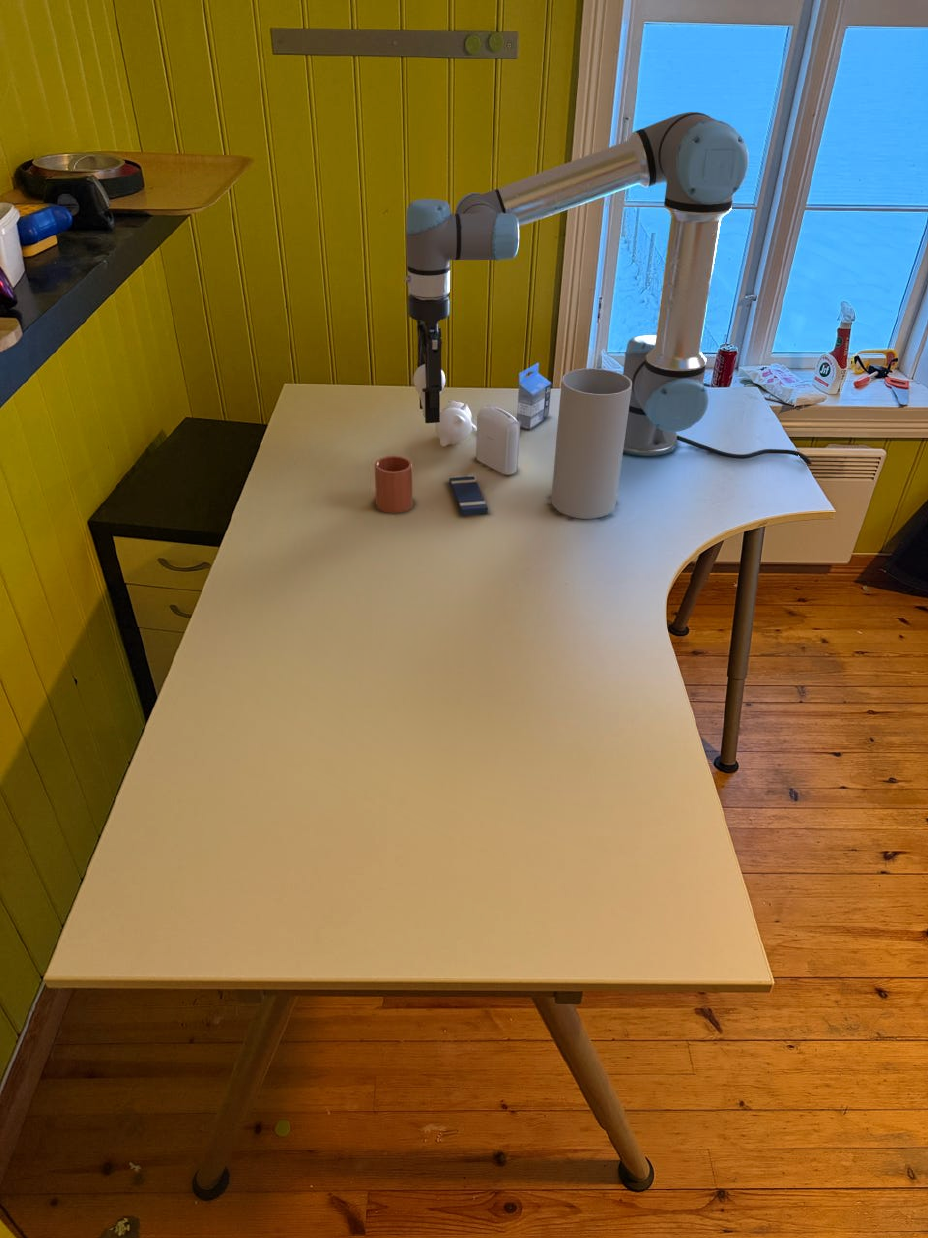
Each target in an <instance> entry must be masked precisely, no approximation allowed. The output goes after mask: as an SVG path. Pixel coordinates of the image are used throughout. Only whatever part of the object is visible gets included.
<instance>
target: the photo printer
mask: <svg viewBox="0 0 928 1238" xmlns="http://www.w3.org/2000/svg"><path fill="white" fill-rule="evenodd" d="M476 427H477V432H476V441H475V447H476V448H475V458H476V460H477V461H478V462H480V463H482V464H483V465H485V466H487V467H489V468H491V469H492V470H494V471H496V472H498V473H500V474H501V475H506V476H509V475H513V474H515V473H516V472H517V470H518V468H519V453H520V437H521V436H520V433H521V427H520V425H519V422H518V421H517V418H515V417H514V416H513V415H512V414H511V413H509V412H508V411H506V410H504V409H503V408H500V407H497V406H492V405H486V406H483V407H481V408H480V409H479V410H478V412H477V416H476Z"/></svg>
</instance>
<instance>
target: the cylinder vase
mask: <svg viewBox="0 0 928 1238" xmlns="http://www.w3.org/2000/svg"><path fill="white" fill-rule="evenodd" d="M631 390H632V381H631V380H630V379H629V378H628V377H627V376H625V375H623V373H622V372H621V373H620V372H617V371H614V370H610V369H604V368H596V367H595V368H593V367H591V368H590V367H587V368H578V369H573V370H570V371H568V372H566V373H564V374H563V375H562V377H561V383H560V396H559V407H558V417H557V428H556V438H555V439H556V440H555V448H554V449H555V450H554V459H553V460H554V463H553V471H552V472H553V475H552V485H551V493H550V501H551V504H552V506H553V508H554V509H556V511H558V512H559V513H561V514H562V515H565V516H568V517H571V518H574V519H579V520H581V519H582V520H593V519H600V518H603V517H605V516H608V515H610V513H612V512H613V511H614V509H615V507H616V504H617V499H618V490H619V484H620V477H621V469H622V468H621V467H622V460H623V454H624V453H623V448H624V440H625V433H626V426H627V419H628V412H629V404H630V397H631Z"/></svg>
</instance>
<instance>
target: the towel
mask: <svg viewBox="0 0 928 1238" xmlns="http://www.w3.org/2000/svg"><path fill="white" fill-rule="evenodd" d="M448 479H449V480H448V481H449V483H448V484H449V487H450V489H451V492H452V494H453V497H454V500H455V502H456V505H457V507H458V510H459V512H460V515H461V517H465V516H466V517H467V516H478V515H488V513H489V507H488V505H487V503H486V501H485V498H484V496H483V494H482V491H481V489H480V487H479V485H478V482H477V480H476V477H475V476H474V475H470V476H455V477H449V478H448Z"/></svg>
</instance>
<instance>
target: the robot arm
mask: <svg viewBox="0 0 928 1238" xmlns="http://www.w3.org/2000/svg"><path fill="white" fill-rule="evenodd" d="M747 147H748V146H747V144H746V142H745V140H744V138H743V137H742V136H741V134H740V133H739V132H738V131H737V130H736V129H735V128H734V127H733V126H732V125H730V124H729V123H726V122H724V121H722V120H718V119H715V118H713V117H711V116H710V115H707V114H705V113H702V112H699V111H689V112H684V113H680V114H675V115H674V116H671V117H668V118H665V119H663V120H661V121H657V122H655V123H653V124H651V125H648V126H646V127H643V128H640V129H638V130H635V131H633V132H631V134H630V137H629V138H628V139H627V140H626V141H623V142H620V143H617V144H615V145H612V146H609V147H607V148H604V149H601V150H599V151H596V152H593V153H590V154H588V155H585V156H582V157H579V158H577V159H574V160H572V161H569V162H566V163H564V164H560V165H558V166H556V167H552V168H549V169H547V170H545V171H542V172H539V173H536V174H533V175H531V176H528V177H525V178H523V179H520V180H517V181H515V182H511V183H509V184H506V185H504V186H501V187H499V188H496V189H492V190H490V191H487V192H484V193H480V192H469V193H467V194H466V195H464V196H462V197H461V199H459V201H458V203H457V205H456V207H455V211H454V213H453V212H452V211H451V207H450V203H448V202H447V201H446V200H443V199H433V198H423V199H416V200H413V201H411V202H410V203H409V204H408V206H407V208H406V223H405V224H406V226H405V227H406V228H405V238H406V241H405V242H406V265H407V274H408V275H405V276H404V277H403V278H404V282H405V283H407V292H408V294H409V295H408V296H407V315H408V316H409V317H410V318H411V319H412V320H414V321H416V332H417V337H416V339H417V363H416V366H417V369H418V368H419V367H420V366H422V365H424V364H425V375H426V388H424V389H422V391H423V392H425V417H424V422H425V424H435V423H438V422H440V413H441V408H440V407H441V405H440V403H441V401H440V400H441V397H440V396H441V393H442V392H441V391H443V390H442V375H441V369H442V348H443V347H442V344H443V340H442V328H441V327H440V326H439V322H440V321H443V320H445V319H447V318H449V315H450V296H449V293H450V292H451V291H450V289H451V269H450V268H451V267H450V262H451V261H495V262H499V261H502V260H504V261H505V260H512V259H514V258H516V256H517V254H518V250H519V245H520V227H523V226H526V225H529V224H532V223H534V222H537V221H540V220H543V219H545V218H548V217H551V216H553V215H557V214H560V213H563V212H565V211H567V210H570V209H573V208H576V207H579V206H581V205H584V204H587V203H590V202H593V201H596V200H597V199H601V198H604V197H607V196H609V195H613V194H615V193H618V192H620V191H623V190H627V189H629V188H632V187H634V186H637V185H638V186H641V187H643V188H645V189H646V188H649V187H652V186H654V185H658V184H665V183H666V186H665V194H664V202H663V207H664V208H665V210H666V211H667V212H668V213H669V214H670V223H669V230H668V232H669V233H668V241H667V247H666V255H665V256H666V257H665V265H664V271H663V277H662V278H663V280H662V286H661V287H662V288H661V293H660V294H661V295H660V303H659V310H658V318H657V326H656V327H657V328H656V334H645V335H637V336H634V337H632V338H630V339H629V341H628V342H627V344H626V350H625V352H624V363H623V371H622V374H623V375H625V376H627V377H628V378H629V379H630V380H631V381H632V390H631V397H630V404H629V412H628V419H627V426H626V433H625V440H624V448H623V454H626V455H630V456H635V457H645V458H646V457H660V456H664V455H667V454H669V453H671V452H673V451H674V450H675V449H676V446H677V441H679V442H682V443H685V444H687V445H690V446H692V447H695V448H698V449H700V450H704V451H707V452H709V453H712V454H714V455H717V456H721V457H725V458H729V459H735V460H737V459H738V460H744V459H745V460H746V459H752V458H754V457H758V456H760V455H761V456H762V455H766V454H775V455H776V454H777V455H792V456H796V457H798V455H799V456H800V457H799V459H801V460H803V462H804V463H805V464H806V465H812V464H813V463H812V461H811V459H810V458H809V457H808V456H806V454H804V453H802V452H800V451H798V450H794V449H783V448H779V449H778V448H763V449H759V450H755V451H753V452H750V453H743V454H742V453H741V454H739V453H738V454H737V453H731V452H726V451H723V450H720V449H716V448H714V447H711V446H708V445H705V444H702V443H699V442H697V441H694V440H692V439H689V438H686V437H683V436H681V435H678V433H679V432H682V431H686V430H688V429H690V428H692V427H693V426H694V425H696V423H698V422H699V421H701V420H702V418H703V417H704V415H705V414H706V412H707V409H708V406H709V395H708V390H707V388H706V386H705V385H704V380H705V375H706V374H705V373H706V369H707V362H708V361H707V357H705V355H704V354H703V353H702V352H701V347H702V341H703V334H704V329H705V322H706V315H707V310H708V309H707V308H708V304H709V303H708V302H709V296H710V290H711V283H712V277H713V271H714V266H715V265H714V264H715V258H716V253H717V245H718V239H719V234H720V227H721V221H722V219H723V217H724V216H726V215H727V214H729V213H730V211H732V208H733V202H734V196H735V194H736V193H737V191H738V190H739V189H740V188H741V187H742V185H743V183H744V182H745V179H746V177H747V174H748V169H749V162H750V159H749V150H748V148H747ZM440 392H441V393H440ZM419 409H420V410H423V407H422V406H421V399H420V398H419Z"/></svg>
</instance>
